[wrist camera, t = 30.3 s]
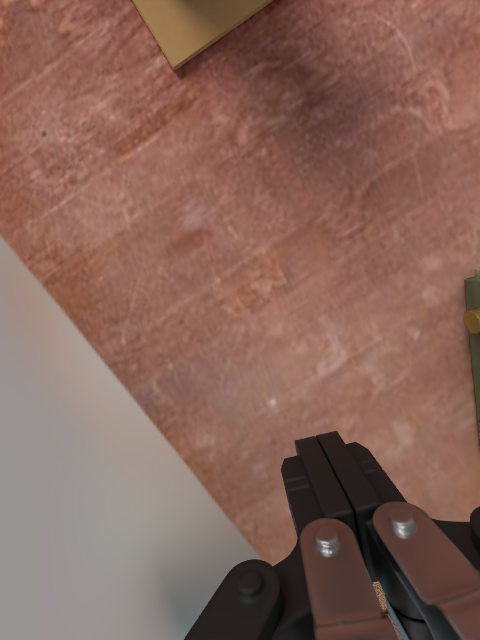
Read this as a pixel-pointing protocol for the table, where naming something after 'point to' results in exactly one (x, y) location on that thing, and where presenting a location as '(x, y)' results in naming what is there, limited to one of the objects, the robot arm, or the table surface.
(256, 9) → the coaster
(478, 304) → the drawer
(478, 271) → the drawer unit
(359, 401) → the table surface
